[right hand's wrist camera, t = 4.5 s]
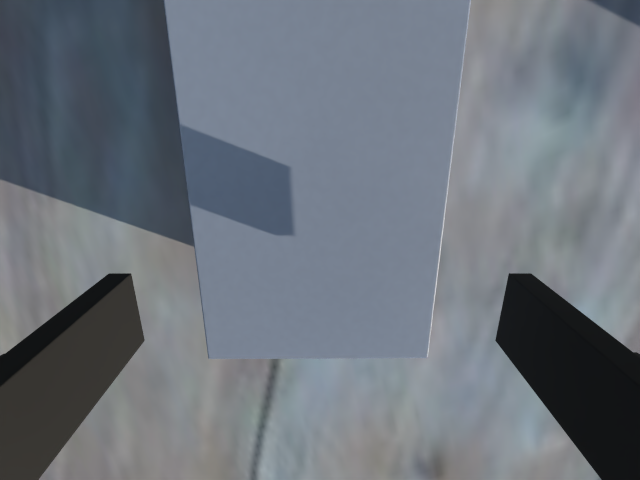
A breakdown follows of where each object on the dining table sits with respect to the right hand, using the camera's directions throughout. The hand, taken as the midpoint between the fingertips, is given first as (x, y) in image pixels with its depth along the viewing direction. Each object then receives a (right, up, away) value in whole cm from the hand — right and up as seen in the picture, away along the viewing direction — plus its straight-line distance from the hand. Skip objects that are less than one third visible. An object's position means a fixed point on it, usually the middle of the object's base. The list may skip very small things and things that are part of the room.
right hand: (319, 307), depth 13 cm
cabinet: (0, +10, +10) cm, 14 cm away
